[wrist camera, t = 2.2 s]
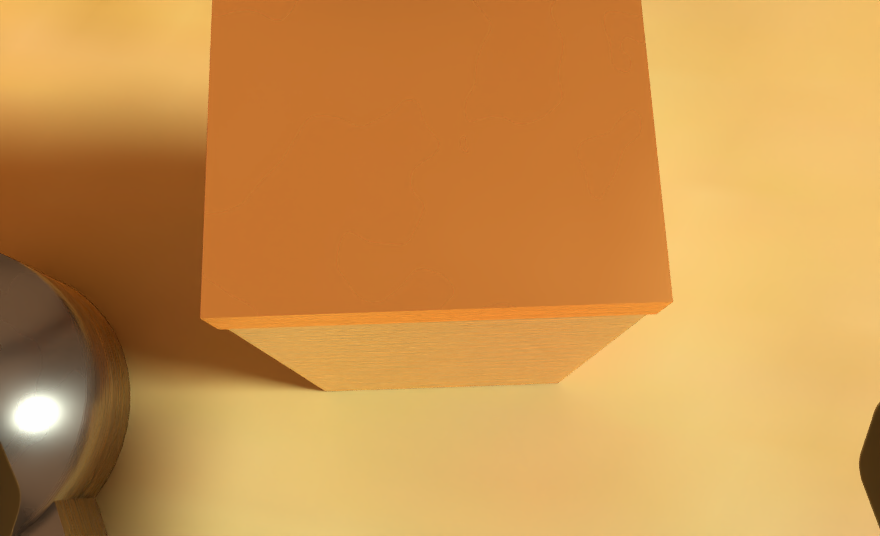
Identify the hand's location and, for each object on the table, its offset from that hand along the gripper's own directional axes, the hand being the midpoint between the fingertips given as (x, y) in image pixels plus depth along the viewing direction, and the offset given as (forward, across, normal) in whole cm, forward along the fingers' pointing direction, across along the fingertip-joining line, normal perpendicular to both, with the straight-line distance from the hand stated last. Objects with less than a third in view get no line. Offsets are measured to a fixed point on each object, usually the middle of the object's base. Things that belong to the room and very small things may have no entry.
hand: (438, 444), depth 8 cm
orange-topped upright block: (+11, 0, +5) cm, 12 cm away
